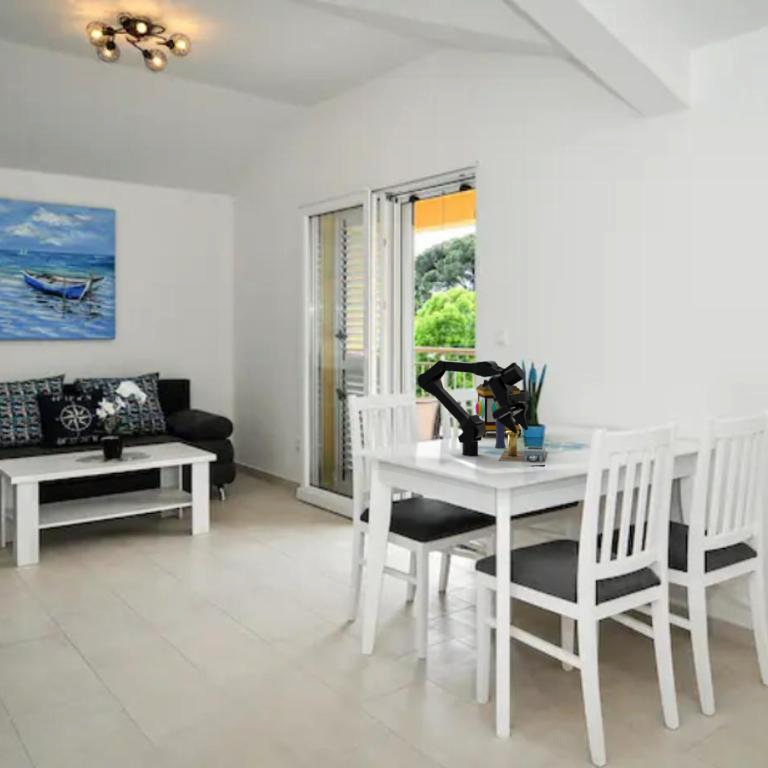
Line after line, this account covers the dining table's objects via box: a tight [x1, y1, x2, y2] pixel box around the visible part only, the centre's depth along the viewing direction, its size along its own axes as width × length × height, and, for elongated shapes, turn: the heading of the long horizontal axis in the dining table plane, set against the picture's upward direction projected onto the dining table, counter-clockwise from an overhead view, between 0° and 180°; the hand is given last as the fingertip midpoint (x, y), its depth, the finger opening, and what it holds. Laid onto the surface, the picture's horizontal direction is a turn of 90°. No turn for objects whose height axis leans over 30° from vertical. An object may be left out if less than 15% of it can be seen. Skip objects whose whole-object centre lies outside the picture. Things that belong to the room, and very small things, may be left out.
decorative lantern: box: [474, 376, 522, 439], centre depth 345 cm, size 20×20×30 cm
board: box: [497, 449, 548, 467], centre depth 279 cm, size 24×16×2 cm, turn 166°
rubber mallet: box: [488, 374, 515, 449], centre depth 298 cm, size 12×8×30 cm, turn 152°
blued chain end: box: [523, 446, 546, 463], centre depth 274 cm, size 15×7×3 cm, turn 166°
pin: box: [505, 430, 519, 456], centre depth 280 cm, size 5×5×9 cm
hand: (521, 431), depth 272 cm, fingers open, 9 cm apart
